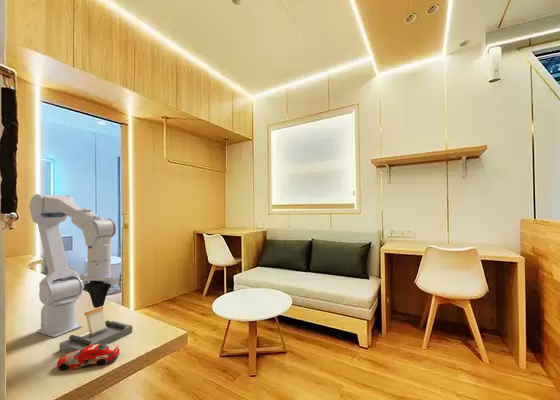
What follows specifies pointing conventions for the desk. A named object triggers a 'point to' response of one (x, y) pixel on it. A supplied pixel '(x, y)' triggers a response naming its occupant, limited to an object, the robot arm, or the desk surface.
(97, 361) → the race car
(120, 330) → the strip
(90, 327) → the lever
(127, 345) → the desk surface
